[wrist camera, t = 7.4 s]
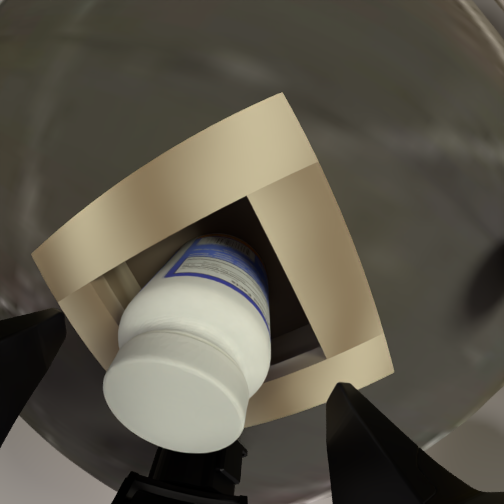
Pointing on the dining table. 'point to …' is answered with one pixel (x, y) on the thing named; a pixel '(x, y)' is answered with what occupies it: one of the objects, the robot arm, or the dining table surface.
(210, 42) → the dining table surface
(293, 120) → the box
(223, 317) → the pill bottle
